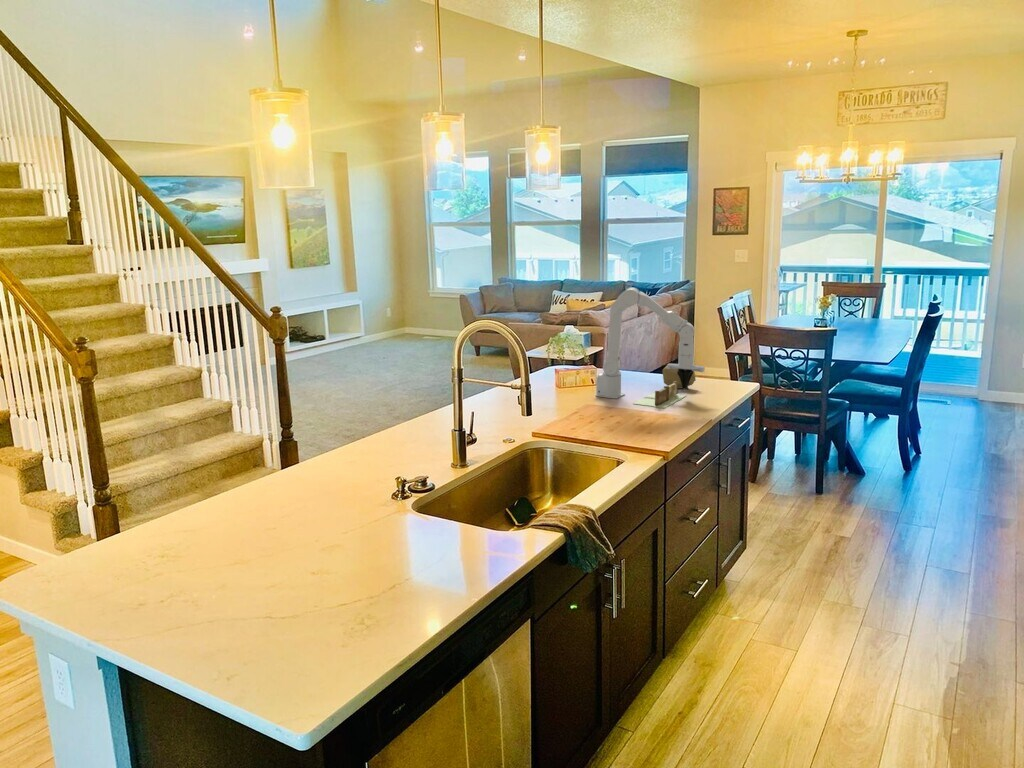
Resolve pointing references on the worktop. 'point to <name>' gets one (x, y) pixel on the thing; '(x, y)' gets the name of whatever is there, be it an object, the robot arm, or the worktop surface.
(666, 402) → the board
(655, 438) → the worktop surface
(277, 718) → the worktop surface
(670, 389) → the hinged panel
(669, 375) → the low-poly potato
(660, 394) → the fixed fence
